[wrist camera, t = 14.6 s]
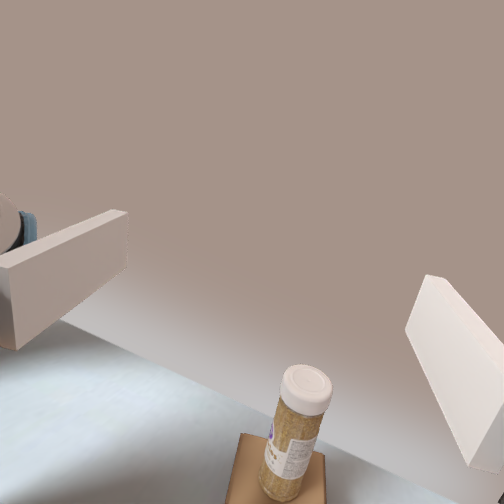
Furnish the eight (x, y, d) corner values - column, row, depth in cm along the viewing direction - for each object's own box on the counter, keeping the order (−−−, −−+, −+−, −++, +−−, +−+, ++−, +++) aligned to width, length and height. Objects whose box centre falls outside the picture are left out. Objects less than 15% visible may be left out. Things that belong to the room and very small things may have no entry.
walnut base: (215, 545, 33) (221, 518, 31) (236, 453, 42) (241, 429, 41) (319, 576, 32) (330, 550, 30) (317, 475, 41) (325, 451, 40)
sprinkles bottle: (253, 461, 37) (277, 361, 32) (293, 459, 38) (322, 362, 33) (262, 506, 33) (292, 399, 28) (307, 502, 34) (342, 398, 29)
